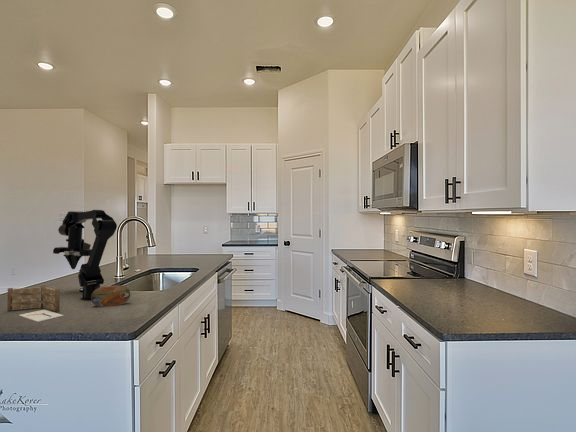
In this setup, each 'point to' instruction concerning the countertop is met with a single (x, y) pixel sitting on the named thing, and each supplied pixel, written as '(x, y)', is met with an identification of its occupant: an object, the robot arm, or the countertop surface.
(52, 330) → the countertop surface
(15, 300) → the fence panel
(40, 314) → the card
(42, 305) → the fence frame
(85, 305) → the countertop surface
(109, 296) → the tin
